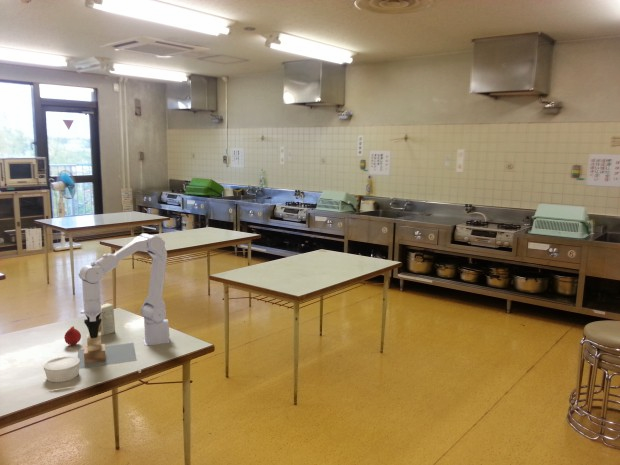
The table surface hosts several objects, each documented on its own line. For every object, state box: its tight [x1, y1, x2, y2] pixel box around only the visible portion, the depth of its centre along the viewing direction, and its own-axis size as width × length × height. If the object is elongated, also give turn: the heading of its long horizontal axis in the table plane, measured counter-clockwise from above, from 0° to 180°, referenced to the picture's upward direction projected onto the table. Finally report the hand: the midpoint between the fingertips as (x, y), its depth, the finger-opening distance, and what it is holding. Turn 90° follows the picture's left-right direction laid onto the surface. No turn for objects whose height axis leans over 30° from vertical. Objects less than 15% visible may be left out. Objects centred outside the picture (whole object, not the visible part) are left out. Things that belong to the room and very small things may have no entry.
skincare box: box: [98, 302, 116, 336], centre depth 204 cm, size 6×4×12 cm
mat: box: [77, 342, 138, 370], centre depth 182 cm, size 20×18×1 cm
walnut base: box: [83, 343, 106, 364], centre depth 179 cm, size 7×7×4 cm
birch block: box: [86, 333, 102, 352], centre depth 178 cm, size 4×4×5 cm
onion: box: [64, 325, 82, 347], centre depth 191 cm, size 6×6×8 cm
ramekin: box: [43, 356, 80, 383], centre depth 165 cm, size 11×11×5 cm
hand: (94, 334), depth 178 cm, fingers open, 7 cm apart
